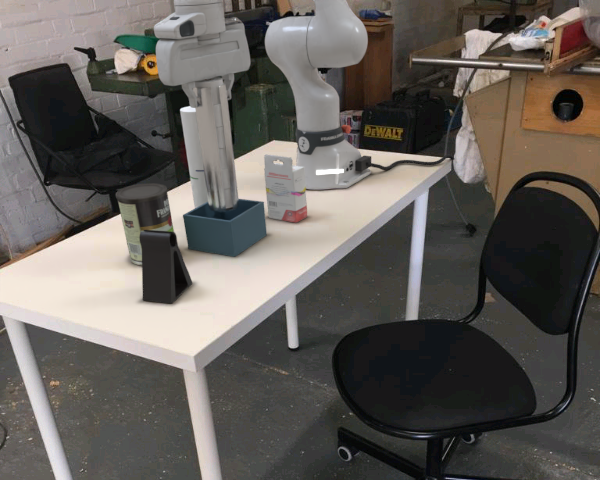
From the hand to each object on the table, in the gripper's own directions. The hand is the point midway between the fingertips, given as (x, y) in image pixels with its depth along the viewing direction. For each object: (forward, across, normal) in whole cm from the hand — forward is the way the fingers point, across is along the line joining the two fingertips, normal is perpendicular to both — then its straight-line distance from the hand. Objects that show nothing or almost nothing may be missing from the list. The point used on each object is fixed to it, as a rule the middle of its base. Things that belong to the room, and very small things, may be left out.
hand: (211, 103), depth 126 cm
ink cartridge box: (+29, -19, 0) cm, 34 cm away
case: (+28, 0, 0) cm, 28 cm away
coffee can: (+29, +15, -7) cm, 33 cm away
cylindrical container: (+29, -7, -14) cm, 33 cm away
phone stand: (+29, +24, +10) cm, 39 cm away
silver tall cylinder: (+21, 0, 0) cm, 21 cm away
